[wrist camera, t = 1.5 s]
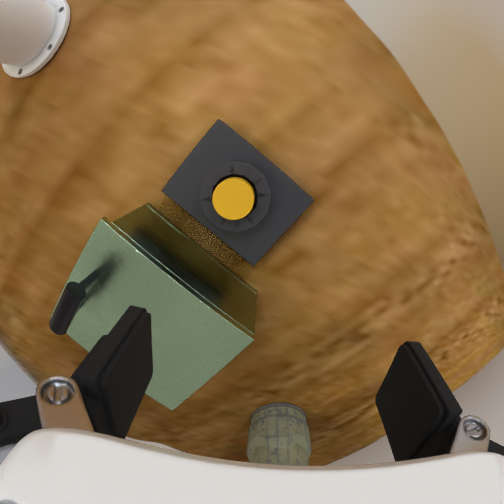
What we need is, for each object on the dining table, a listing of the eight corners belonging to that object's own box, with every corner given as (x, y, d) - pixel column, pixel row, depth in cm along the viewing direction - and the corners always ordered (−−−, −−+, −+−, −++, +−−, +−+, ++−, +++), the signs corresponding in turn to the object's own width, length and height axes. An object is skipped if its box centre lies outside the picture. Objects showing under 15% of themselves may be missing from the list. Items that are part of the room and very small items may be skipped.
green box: (94, 285, 36) (59, 319, 28) (148, 202, 32) (112, 222, 24) (189, 358, 39) (173, 405, 31) (257, 290, 35) (254, 334, 27)
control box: (167, 187, 32) (155, 193, 28) (221, 120, 29) (215, 117, 26) (254, 258, 34) (252, 273, 30) (311, 196, 31) (317, 203, 28)
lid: (53, 314, 28) (25, 341, 22) (105, 216, 24) (70, 234, 19) (173, 405, 31) (162, 442, 25) (254, 335, 27) (252, 375, 22)
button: (207, 198, 28) (203, 202, 27) (232, 168, 27) (230, 170, 26) (237, 223, 29) (235, 228, 27) (262, 194, 28) (262, 197, 26)
